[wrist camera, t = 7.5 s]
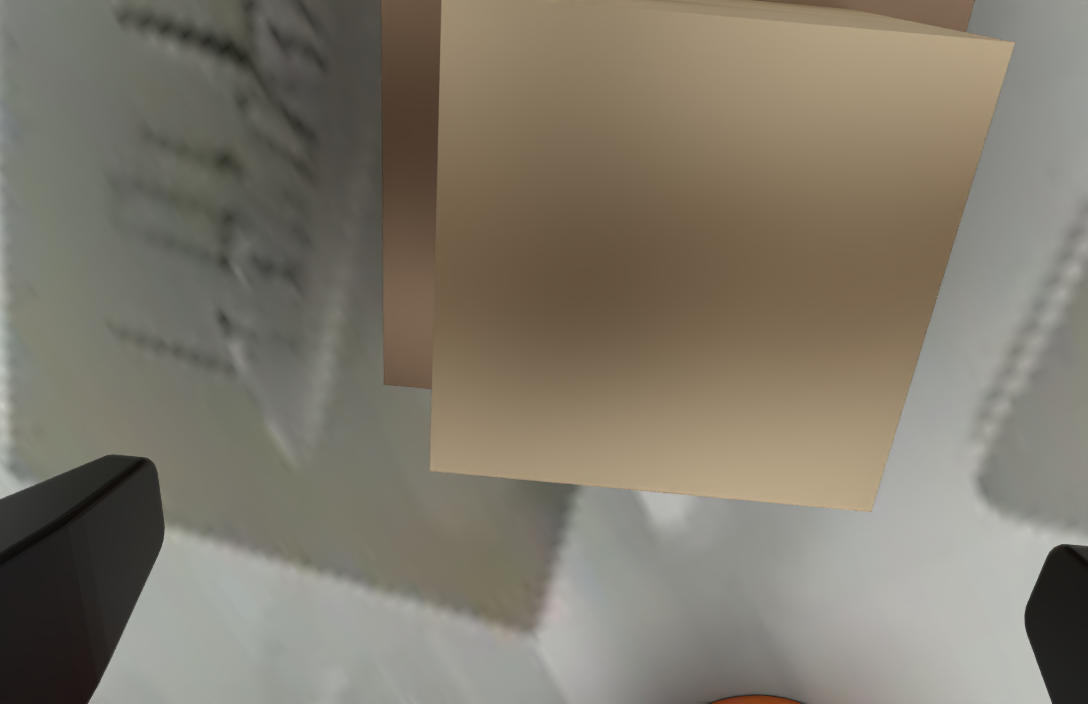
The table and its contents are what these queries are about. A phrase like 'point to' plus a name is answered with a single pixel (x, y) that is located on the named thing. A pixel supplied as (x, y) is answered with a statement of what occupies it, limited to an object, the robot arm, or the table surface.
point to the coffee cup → (756, 700)
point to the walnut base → (415, 159)
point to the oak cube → (693, 239)
